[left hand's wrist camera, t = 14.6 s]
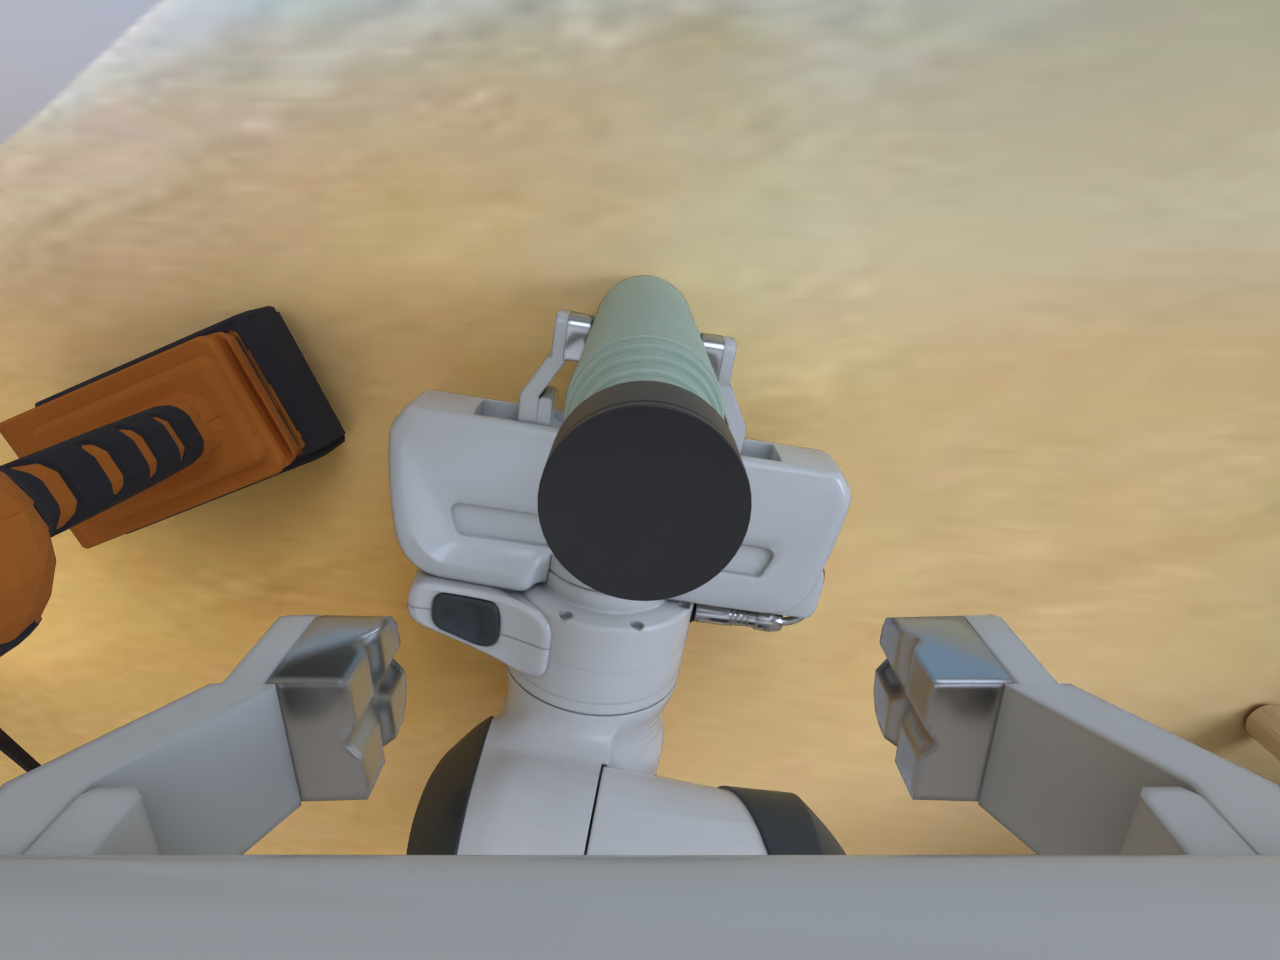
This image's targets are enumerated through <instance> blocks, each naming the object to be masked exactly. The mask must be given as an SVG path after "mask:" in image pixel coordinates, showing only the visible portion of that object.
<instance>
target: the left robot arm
mask: <svg viewBox="0 0 1280 960" xmlns="http://www.w3.org/2000/svg"><path fill="white" fill-rule="evenodd" d="M399 645H400V638H399V633H398V627H397V623H396V622H395V620H394V619H393V618H392V617H388V616H338V615H322V616H320V615H287V616H282V617H279V618H278V619H277V620H276V621H275V623H274V624H273V625H272V626H271V627H270V628H269V629H268V631H267V632H266V633H265V634H264V635H263V636H262V638H261V639H260V640H259V641H258V642H257V643H256V645H255V646H254V647H253V648H252V649H251V650H250V651H249V653H248V654H247V655H246V656H245V657H244V658H243V660H242V661H241V662H240V663H239V664H238V665H237V667H236V668H235V669H234V670H233V671H232V672H231V673H230V675H229V676H228V677H227V678H226V679H225V680H224V682H223V683H222V684H209V685H206V686H204V687H202V688H200V689H198V690H196V691H194V692H192V693H190V694H188V695H186V696H184V697H182V698H180V699H178V700H176V701H173V702H171V703H169V704H167V705H165V706H163V707H161V708H159V709H157V710H155V711H153V712H151V713H149V714H147V715H145V716H142V717H140V718H138V719H136V720H134V721H132V722H130V723H128V724H126V725H124V726H122V727H120V728H118V729H116V730H114V731H112V732H109V733H107V734H105V735H103V736H101V737H99V738H97V739H95V740H93V741H91V742H89V743H87V744H85V745H83V746H81V747H79V748H76V749H74V750H72V751H70V752H68V753H66V754H64V755H62V756H60V757H58V758H56V759H54V760H52V761H50V762H48V763H45V764H43V765H41V766H39V767H37V768H35V769H33V770H31V771H29V772H27V773H25V774H23V775H21V776H19V777H17V778H15V779H12V780H10V781H8V782H6V783H4V784H3V785H2V786H1V787H0V960H1280V786H1279V785H1277V784H1275V783H1273V782H1271V781H1269V780H1267V779H1265V778H1263V777H1261V776H1259V775H1257V774H1255V773H1253V772H1250V771H1248V770H1246V769H1244V768H1242V767H1240V766H1238V765H1236V764H1234V763H1232V762H1230V761H1228V760H1226V759H1224V758H1222V757H1220V756H1218V755H1216V754H1213V753H1211V752H1209V751H1207V750H1205V749H1203V748H1201V747H1199V746H1197V745H1195V744H1193V743H1191V742H1189V741H1187V740H1185V739H1183V738H1181V737H1178V736H1176V735H1174V734H1172V733H1170V732H1168V731H1166V730H1164V729H1162V728H1160V727H1158V726H1156V725H1154V724H1152V723H1150V722H1148V721H1146V720H1143V719H1141V718H1139V717H1137V716H1135V715H1133V714H1131V713H1129V712H1127V711H1125V710H1123V709H1121V708H1119V707H1117V706H1115V705H1113V704H1111V703H1109V702H1106V701H1104V700H1102V699H1100V698H1098V697H1096V696H1094V695H1092V694H1090V693H1088V692H1086V691H1084V690H1082V689H1080V688H1078V687H1076V686H1074V685H1071V684H1058V683H1057V682H1056V680H1055V679H1054V678H1053V677H1052V676H1051V675H1050V674H1049V672H1048V671H1047V670H1046V669H1045V668H1044V667H1043V665H1042V664H1041V663H1040V662H1039V661H1038V660H1037V658H1036V657H1035V656H1034V655H1033V654H1032V653H1031V652H1030V650H1029V649H1028V648H1027V647H1026V646H1025V645H1024V643H1023V642H1022V641H1021V640H1020V639H1019V638H1018V636H1017V635H1016V634H1015V633H1014V632H1013V631H1012V630H1011V628H1010V627H1009V626H1008V625H1007V624H1006V623H1005V621H1004V620H1003V619H1002V618H1000V617H998V616H996V615H993V614H991V615H965V616H935V617H895V618H886V619H885V622H884V624H883V627H882V631H881V638H880V645H881V647H882V649H883V651H884V653H885V655H886V657H887V659H886V660H885V661H884V662H883V663H882V664H881V665H880V666H879V667H878V668H877V669H876V673H875V682H874V703H875V712H876V716H877V720H878V724H879V726H880V729H881V731H882V733H883V736H884V738H885V739H887V740H888V741H890V742H891V743H893V744H894V745H895V746H897V752H896V759H895V763H896V765H897V767H898V769H899V771H900V773H901V776H902V778H903V780H904V782H905V784H906V786H907V789H908V791H909V793H910V795H911V797H912V799H914V800H950V801H979V805H980V806H981V807H982V808H983V809H985V810H986V811H987V812H988V813H989V814H990V815H992V816H993V817H994V818H995V819H996V820H998V821H999V822H1000V823H1001V824H1002V825H1003V826H1005V827H1006V828H1007V829H1008V830H1009V831H1011V832H1012V833H1013V834H1014V835H1015V836H1016V837H1018V838H1019V839H1020V840H1021V841H1022V842H1024V843H1025V844H1026V845H1027V846H1028V847H1029V848H1031V849H1032V850H1033V851H1034V852H1035V853H1037V854H1038V855H243V854H244V853H245V852H246V851H247V850H248V849H250V848H251V847H252V846H253V845H254V844H256V843H257V842H258V841H259V840H260V839H261V838H263V837H264V836H265V835H266V834H267V833H269V832H270V831H271V830H272V829H273V828H274V827H276V826H277V825H278V824H279V823H280V822H282V821H283V820H284V819H285V818H286V817H288V816H289V815H290V814H291V813H292V812H293V811H295V810H296V809H297V808H298V807H299V806H301V801H329V800H364V799H368V798H369V795H370V793H371V791H372V789H373V787H374V784H375V782H376V780H377V778H378V776H379V773H380V771H381V769H382V767H383V765H384V763H385V759H384V752H383V746H385V745H386V744H387V743H389V742H390V741H392V740H393V739H395V738H396V736H397V733H398V731H399V729H400V726H401V724H402V720H403V715H404V710H405V705H406V680H405V672H404V669H403V668H402V667H401V666H400V665H399V664H398V663H397V662H396V661H395V660H394V659H393V657H394V655H395V653H396V651H397V649H398V647H399Z"/></svg>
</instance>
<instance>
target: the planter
mask: <svg viewBox="0 0 1280 960" xmlns="http://www.w3.org/2000/svg"><path fill="white" fill-rule="evenodd" d="M1246 730H1247V732H1248V733H1249V734H1250V735H1251V736H1252V737H1253V738H1255V739H1256V740H1257V741H1258V742H1259V743H1260V744H1261V745H1262V746H1263V747H1265V748H1266V749H1267V750H1268V751H1269V752H1270V753H1271V754H1272V755H1273V756H1275V757H1276V758H1277V759H1278V760H1279V761H1280V705H1274V704H1271V705H1265V706H1262V707H1260V708H1258V709H1256V710H1255V711H1253V712H1252V713H1251V714H1250V715H1249V717H1248V718H1247V720H1246Z"/></svg>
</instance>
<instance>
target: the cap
mask: <svg viewBox="0 0 1280 960" xmlns="http://www.w3.org/2000/svg"><path fill="white" fill-rule="evenodd" d="M751 509H752V496H751V488H750V483H749V479H748V476H747V473H746V470H745V467H744V464H743V461H742V459H741V456H740V453H739V450H738V448H737V445H736V442H735V439H734V437H733V435H732V433H731V431H730V429H729V427H728V425H727V424H726V423H725V421H724V420H723V418H722V417H721V416H720V414H719V413H718V412H717V411H716V410H715V409H714V408H713V407H712V406H711V405H710V404H708V403H707V402H706V401H705V400H704V399H702V398H700V397H699V396H697V395H696V394H694V393H692V392H690V391H688V390H686V389H684V388H682V387H679V386H676V385H672V384H669V383H664V382H658V381H644V380H643V381H630V382H625V383H620V384H616V385H613V386H610V387H608V388H605V389H603V390H601V391H599V392H597V393H595V394H593V395H592V396H590V397H589V398H587V399H586V400H584V401H583V402H582V403H581V404H579V405H578V406H577V407H576V408H575V409H574V410H573V411H572V412H571V413H570V415H569V416H568V417H567V418H566V419H565V421H564V423H563V424H562V426H561V427H560V429H559V431H558V433H557V435H556V437H555V440H554V442H553V445H552V448H551V450H550V453H549V456H548V459H547V462H546V464H545V467H544V470H543V473H542V477H541V480H540V483H539V490H538V516H539V522H540V526H541V529H542V532H543V535H544V538H545V540H546V542H547V544H548V546H549V548H550V550H551V551H552V553H553V554H554V556H555V557H556V559H557V560H558V561H559V562H560V563H561V565H562V566H563V567H564V568H565V569H566V570H567V571H568V572H569V573H570V574H571V575H572V576H574V577H575V578H576V579H578V580H579V581H581V582H582V583H583V584H585V585H587V586H589V587H590V588H592V589H594V590H596V591H599V592H601V593H603V594H606V595H609V596H613V597H616V598H620V599H626V600H632V601H656V600H663V599H669V598H673V597H677V596H680V595H683V594H686V593H688V592H690V591H693V590H695V589H697V588H699V587H701V586H702V585H704V584H706V583H707V582H709V581H710V580H711V579H713V578H714V577H715V576H717V575H718V574H719V573H720V572H721V571H722V570H723V569H724V568H725V567H726V566H727V565H728V564H729V563H730V561H731V560H732V559H733V557H734V556H735V555H736V553H737V551H738V550H739V548H740V546H741V545H742V543H743V540H744V538H745V536H746V533H747V530H748V526H749V523H750V518H751Z"/></svg>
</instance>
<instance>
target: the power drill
mask: <svg viewBox="0 0 1280 960" xmlns="http://www.w3.org/2000/svg"><path fill="white" fill-rule="evenodd" d="M0 432H1V434H2V435H3V437H4V438H5V439H6V441H7V442H8V443H9V445H10V446H11V447H12V449H13V450H14V452H15V453H16V454H17V456H18V457H19V459H17V460H15V461H12V462H10V463H7V464H4V465H2V466H0V657H1V656H3V655H4V654H5V653H7V652H8V651H10V650H11V649H13V648H14V647H16V646H17V645H19V644H20V643H21V642H22V641H23V640H24V639H25V638H27V637H28V636H29V635H30V634H31V633H32V632H33V630H34V629H35V628H36V627H37V626H38V625H39V623H40V621H41V620H42V618H41V615H42V613H43V611H44V609H45V607H46V605H47V602H48V600H49V598H50V596H51V592H52V586H53V579H54V572H55V566H56V557H55V553H54V550H53V546H52V542H51V537H53V536H55V535H57V534H59V533H61V532H63V531H65V530H67V529H69V528H70V530H71V531H72V533H73V534H74V535H75V537H76V538H77V540H78V541H79V543H80V544H81V545H82V547H84V548H91V547H93V546H96V545H98V544H101V543H103V542H106V541H108V540H111V539H113V538H116V537H119V536H121V535H124V534H128V533H131V532H134V531H136V530H139V529H141V528H144V527H146V526H149V525H151V524H154V523H156V522H159V521H161V520H164V519H166V518H169V517H172V516H174V515H177V514H179V513H182V512H184V511H187V510H189V509H192V508H194V507H197V506H199V505H202V504H205V503H207V502H210V501H212V500H215V499H217V498H220V497H222V496H225V495H227V494H230V493H232V492H235V491H237V490H240V489H243V488H245V487H248V486H250V485H253V484H255V483H258V482H260V481H263V480H265V479H268V478H270V477H273V476H276V475H278V474H281V473H283V472H286V471H288V470H291V469H293V468H296V467H298V466H301V465H303V464H306V463H308V462H311V461H314V460H316V459H318V458H320V457H322V456H324V455H326V454H328V453H329V452H330V451H332V450H333V449H335V448H336V447H337V446H339V445H340V444H342V443H343V442H344V441H345V436H344V434H345V431H344V430H343V428H342V426H341V424H340V422H339V421H338V419H337V417H336V415H335V413H334V411H333V410H332V408H331V406H330V404H329V402H328V401H327V399H326V397H325V395H324V393H323V391H322V390H321V388H320V386H319V384H318V382H317V380H316V379H315V377H314V375H313V373H312V371H311V370H310V368H309V366H308V364H307V362H306V360H305V359H304V357H303V355H302V353H301V351H300V350H299V348H298V346H297V344H296V342H295V340H294V339H293V337H292V335H291V333H290V331H289V330H288V328H287V326H286V324H285V322H284V320H283V319H282V317H281V315H280V313H279V312H276V310H275V309H274V307H271V306H267V307H263V308H258V309H254V310H250V311H246V312H243V313H241V314H238V315H235V316H233V317H230V318H228V319H226V320H223V321H221V322H219V323H217V324H214V325H212V326H210V327H208V328H205V329H203V330H201V331H198V332H196V333H194V334H192V335H189V336H187V337H185V338H183V339H180V340H178V341H176V342H173V343H171V344H169V345H167V346H164V347H162V348H160V349H158V350H155V351H153V352H151V353H148V354H146V355H144V356H142V357H139V358H137V359H135V360H133V361H130V362H128V363H126V364H123V365H121V366H119V367H117V368H114V369H112V370H110V371H108V372H105V373H103V374H101V375H98V376H96V377H94V378H92V379H89V380H87V381H85V382H83V383H80V384H78V385H76V386H73V387H71V388H69V389H67V390H64V391H62V392H60V393H58V394H55V395H53V396H51V397H48V398H46V399H44V400H42V401H39V402H37V403H35V408H33V409H31V410H29V411H26V412H24V413H22V414H19V415H17V416H15V417H13V418H10V419H8V420H6V421H3V422H1V423H0Z"/></svg>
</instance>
